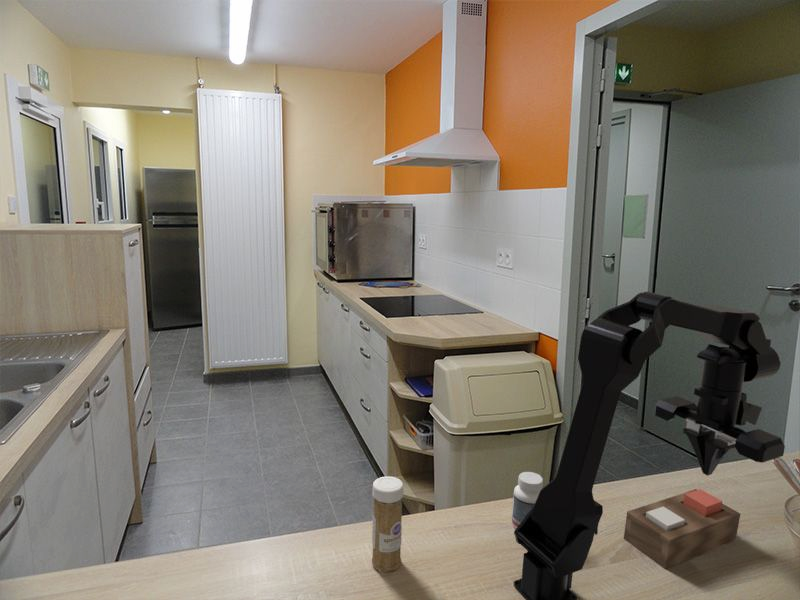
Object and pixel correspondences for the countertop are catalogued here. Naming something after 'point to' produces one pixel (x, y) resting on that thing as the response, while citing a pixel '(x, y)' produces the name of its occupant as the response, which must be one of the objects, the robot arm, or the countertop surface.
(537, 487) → the pill bottle
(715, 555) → the countertop surface
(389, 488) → the sprinkles bottle
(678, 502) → the socket block
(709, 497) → the red plug
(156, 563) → the countertop surface
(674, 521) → the grey plug
